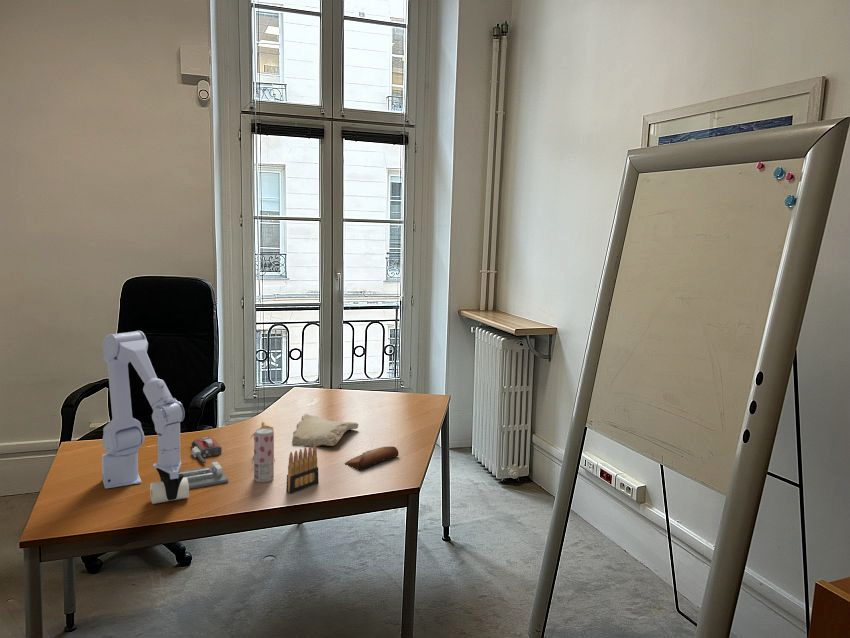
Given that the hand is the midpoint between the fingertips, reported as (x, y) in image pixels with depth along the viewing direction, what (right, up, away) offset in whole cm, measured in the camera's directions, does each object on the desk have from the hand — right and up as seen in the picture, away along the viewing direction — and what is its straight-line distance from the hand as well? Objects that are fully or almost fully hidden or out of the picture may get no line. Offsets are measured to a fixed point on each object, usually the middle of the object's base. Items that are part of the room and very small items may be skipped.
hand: (169, 495), depth 172 cm
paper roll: (0, -1, 0) cm, 1 cm away
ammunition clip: (+34, -1, +12) cm, 36 cm away
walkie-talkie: (-2, +3, +35) cm, 36 cm away
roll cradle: (+2, 0, +14) cm, 14 cm away
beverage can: (+21, 0, +17) cm, 27 cm away
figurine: (+16, +3, +35) cm, 38 cm away
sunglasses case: (+52, +1, +35) cm, 63 cm away
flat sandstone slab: (+32, +5, +58) cm, 66 cm away
